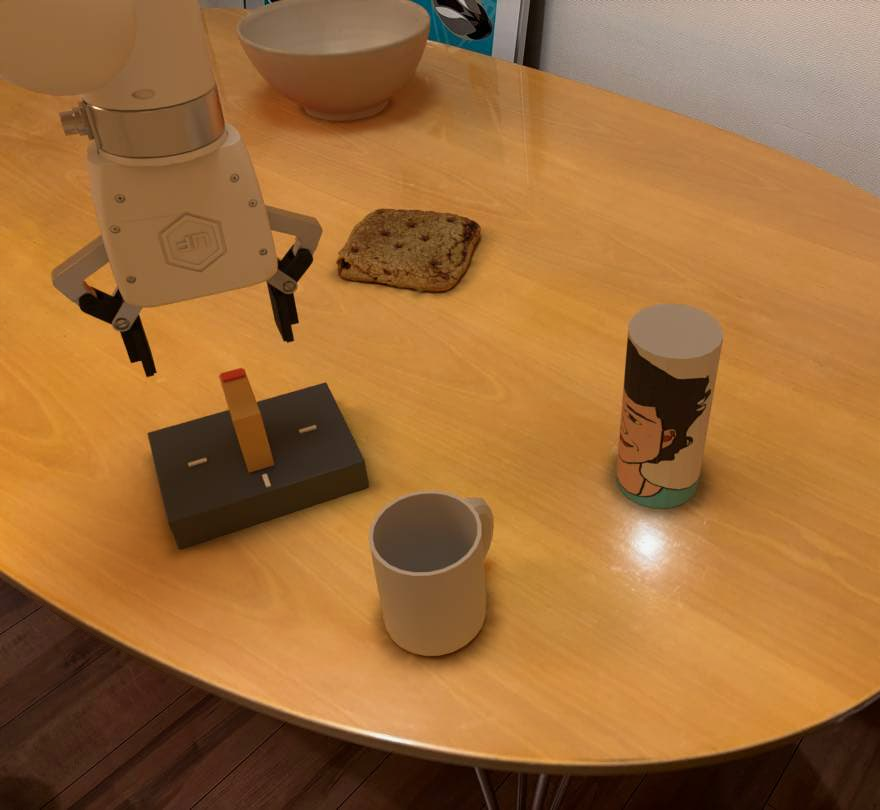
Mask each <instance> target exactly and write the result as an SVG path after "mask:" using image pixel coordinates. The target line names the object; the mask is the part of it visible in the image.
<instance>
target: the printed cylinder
mask: <svg viewBox="0 0 880 810" xmlns="http://www.w3.org/2000/svg"><path fill="white" fill-rule="evenodd" d="M629 320H630V321H629V322H628V328H627V339H626V340H627V341H626V350H625V352H626V353H625V365H624V375H623V376H624V377H623V387H622V388H623V389H622V401H621V413H620V424H619V425H620V426H619V437H618V448H617V449H618V450H617V462H616V473H615V474H616V477H615V480H616V484H617V486H618V488H619V490H620V492H622V494H623V495H624V496H625V497H626V498H627V499H629V500H630V501H632V502H634V503H635V504H637V505H639V506H643V507H647V508H649V509H663V510H665V509H666V510H667V509H671V508H677V507H679V506H681V505H684V504H685V503H687V502H689V501H690V500H691V498H693V496H694V495H695V494H696V492H697V489H698V488H699V487H698V486H699V482H700V476H701V470H702V465H703V457H704V453H705V447H706V443H707V442H706V441H707V436H708V430H709V423H710V417H711V412H712V405H713V400H714V393H715V389H716V383H717V378H718V377H717V376H718V372H719V371H718V370H719V365H720V359H721V353H722V346H723V341H724V331H723V327H722V326H721V323H720V322H719V321H718V320H717V318H715V317H714V316H712V315H711V314H710V313H709V312H707V311H705V310H703V309H700V308H698V307H696V306H691V305H687V304H683V303H668V302H666V303H660V304H659V303H658V304H652V305H650V306H647V307H645V308H642V309H640V310H639V311H638V312H636V313H634V314H633V315H632V317H631V319H629Z"/></svg>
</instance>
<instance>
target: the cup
mask: <svg viewBox="0 0 880 810" xmlns="http://www.w3.org/2000/svg"><path fill="white" fill-rule="evenodd" d="M492 511H493V510H492V508H491V507H490V506H489V505H488V503H487V502H486V501H485V500H484V498H482V497H469V496H468V497H466V498H462V497H461V496H458V495H456V494H453V493H451V492H447V491H442V490H420V491H419V490H418V491H415V492H409V493H406V494H404V495H402V496H399V497H397V498H394V499H393V500H392V501H390V502H389V503H386V505H384V506H383V507H382V508H381V509H380V510H379V512H378V513H377V514H376V515H375V516H374V518H373V520H372V522H371V524H370V526H369V532H368V543H369V548H370V554H371V560H372V565H373V571H374V575H375V576H374V577H375V581H376V587H377V592H378V596H379V603H380V608H381V613H382V617H383V623H384V626H385V629H386V632H387V633H388V635H389V637H390V638H391V640H392V641H393V642H394V643H395V644H396V645H398V647H400V648H401V649H403V650H405V651H407V652H409V653H411V654H415V655H419V656H425V657H439V656H443V655H448V654H451V653H452V654H453V653H454V652H455V651H458V650H460V649H462V648H463V647H465V646H467V645H468V644H469V643H470V642H471V641H472V640H474V638H476V637H477V635H478V634H479V632H480V631H481V630H482V628H483V625H484V622H485V620H486V617H487V616H486V615H487V593H486V592H487V591H486V575H485V573H486V572H485V559H486V557H487V555H488V552H489V550H490V548H491V544H492V541H493V538H494V537H493V536H494V530H495V529H494V528H495V524H494V523H495V521H494V515H493V512H492Z"/></svg>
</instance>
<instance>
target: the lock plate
mask: <svg viewBox="0 0 880 810" xmlns="http://www.w3.org/2000/svg"><path fill="white" fill-rule="evenodd" d="M256 402H257V405H258V407H259V410H260V413H261V417H262V420H263V424H264V428H265V431H266V435H267V439H268V443H269V446H270V450H271V454H272V457H273V461H274V466H271V467H267V468H264V469H261V470H257V471H254V472H251V473H249V472H248V468H247V465H246V462H245V459H244V456H243V453H242V450H241V447H240V444H239V440H238V437H237V434H236V431H235V428H234V425H233V421H232V418H231V415H230V412H229V409H226V410H223V411H220V412H216V413H212V414H210V415H205V416H202V417H199V418H195V419H192V420H188V421H184V422H180V423H177V424H174V425H171V426H167V427H163V428H160V429H156V430H152V431H149V432H147V438H148V443H149V447H150V451H151V455H152V460H153V464H154V469H155V473H156V477H157V481H158V485H159V490H160V495H161V498H162V503H163V508H164V511H165V516H166V520H167V524H168V527H169V529H170V532H171V534H172V536H173V540H174V541H175V544H176V546H177V549H178V550H181V549H185V548H188V547H190V546H193V545H196V544H200V543H203V542H206V541H209V540H212V539H215V538H218V537H221V536H224V535H227V534H230V533H233V532H236V531H239V530H243V529H245V528H248V527H252V526H254V525H257V524H261V523H264V522H266V521H269V520H272V519H276V518H279V517H280V516H281V517H282V516H285V515H288V514H290V513H294V512H296V511H299V510H303V509H306V508H308V507H311V506H315V505H318V504H320V503H323V502H327V501H330V500H333V499H335V498H339V497H342V496H345V495H349V494H352V493H354V492H357V491H360V490H364V489H366V488H368V487H369V488H370V483H369V478H368V471H367V466H366V461H365V458H364V455H363V454H362V452H361V450H360V448H359V446H358V444H357V442H356V440H355V438H354V436H353V434H352V432H351V430H350V427H349V425H348V424H347V422H346V419H345V417H344V415H343V413H342V411H341V409H340V408H339V405H338V403H337V401H336V399H335V397H334V395H333V393H332V391H331V389H330V387H329V385H328V383H327V382H326V381H325V382H322V383H318V384H315V385H312V386H307V387H304V388H300V389H297V390H294V391H290V392H287V393H283V394H279V395H276V396H271V397H269V398H265V399H262V400H258V401H256Z"/></svg>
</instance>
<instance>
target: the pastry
mask: <svg viewBox="0 0 880 810" xmlns="http://www.w3.org/2000/svg"><path fill="white" fill-rule="evenodd" d="M481 229H482V228H481V226H480V223H478V222H477V221H475V220H473V219H471V218H468V217H467V216H462V215H459V214H457V213H451V212H439V211H435V210H425V211H424V210H421V209H404V208H401V209H396V208H377V209H375V210H373V211H371V212H369V213H368V214H366V215H365V216H364V217H363V219H362V220H361V221H359V222H358V223H357V224H355V225H354V226H353V228H352V230H351V232H350V234H349V236H348V238H347V241H346V242H345V243H344V245H343V247H342V248H341V249H340V250H338V253H337V254H338V258H337V259H336V261H335V262H336V265H337V270H336V271H337V275H338V276H340V277H341V278H344V279H345V280H349V281H354V282H362V283H372V282H374V283H375V284H383V285H389V286H390V287H396V288H399V289H412V290H414V291H417V293H418V294H421V293H423V292H445V291H448V290H450V289H451V288H453V287H454V286H455V285H456V284H457V283H458V282H459V280H460V278H461V276H462V275H464V273H465V272H466V271H467V268H468V266H469V264H470V262H471V257H472V253H473V251H474V249H475V245H476V244H477V243H478V240H479V239H480V237H481Z"/></svg>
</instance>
